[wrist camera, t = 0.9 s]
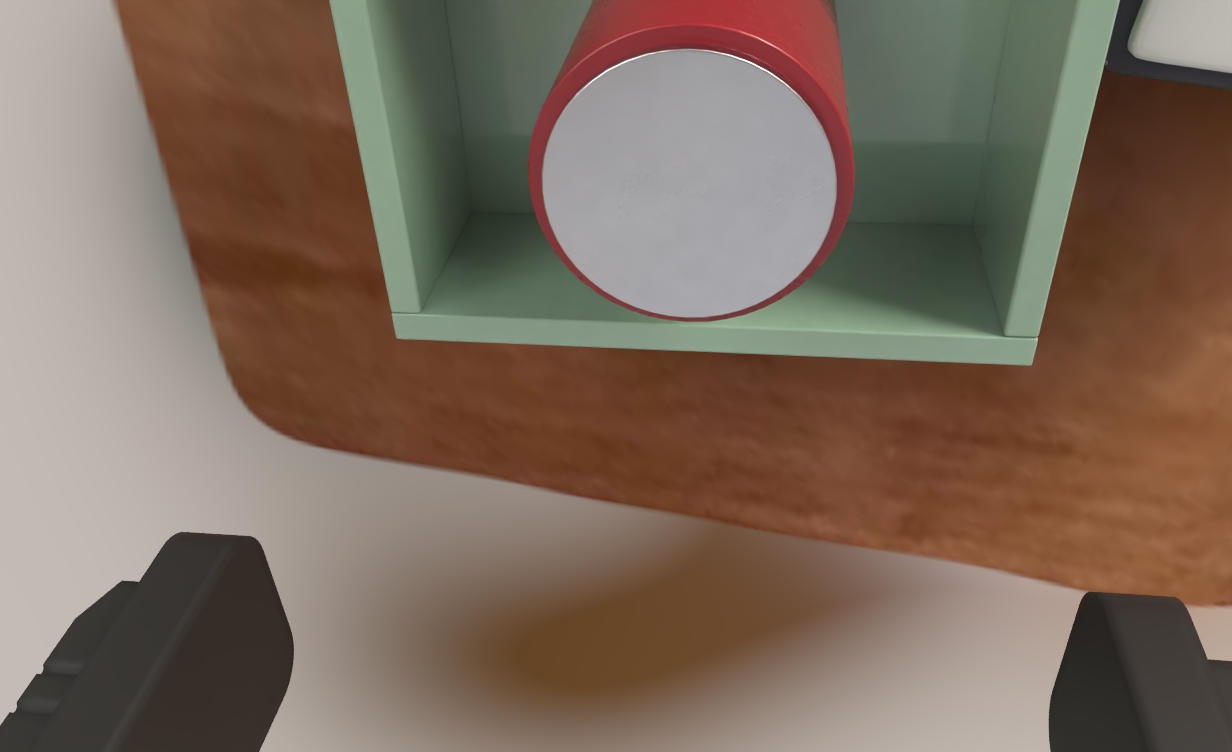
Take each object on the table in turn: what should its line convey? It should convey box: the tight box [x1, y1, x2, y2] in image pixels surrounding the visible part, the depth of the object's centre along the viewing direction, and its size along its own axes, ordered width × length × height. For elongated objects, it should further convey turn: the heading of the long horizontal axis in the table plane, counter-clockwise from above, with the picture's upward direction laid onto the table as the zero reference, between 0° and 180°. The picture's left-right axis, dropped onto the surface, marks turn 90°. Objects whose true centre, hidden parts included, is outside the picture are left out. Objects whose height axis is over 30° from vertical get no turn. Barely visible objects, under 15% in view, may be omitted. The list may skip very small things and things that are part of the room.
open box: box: [330, 0, 1120, 366], centre depth 24 cm, size 14×16×6 cm
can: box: [528, 0, 855, 322], centre depth 22 cm, size 6×6×10 cm
